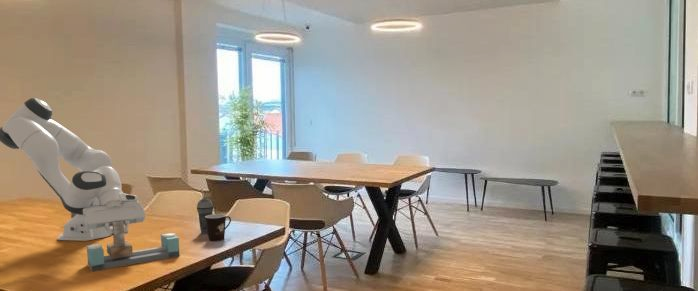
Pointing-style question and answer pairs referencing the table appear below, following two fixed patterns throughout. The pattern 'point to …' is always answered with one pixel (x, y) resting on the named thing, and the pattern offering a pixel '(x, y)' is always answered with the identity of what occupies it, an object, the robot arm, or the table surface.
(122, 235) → the carriage
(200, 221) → the beverage cup
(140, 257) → the rail bed
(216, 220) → the coffee mug
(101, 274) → the table surface
